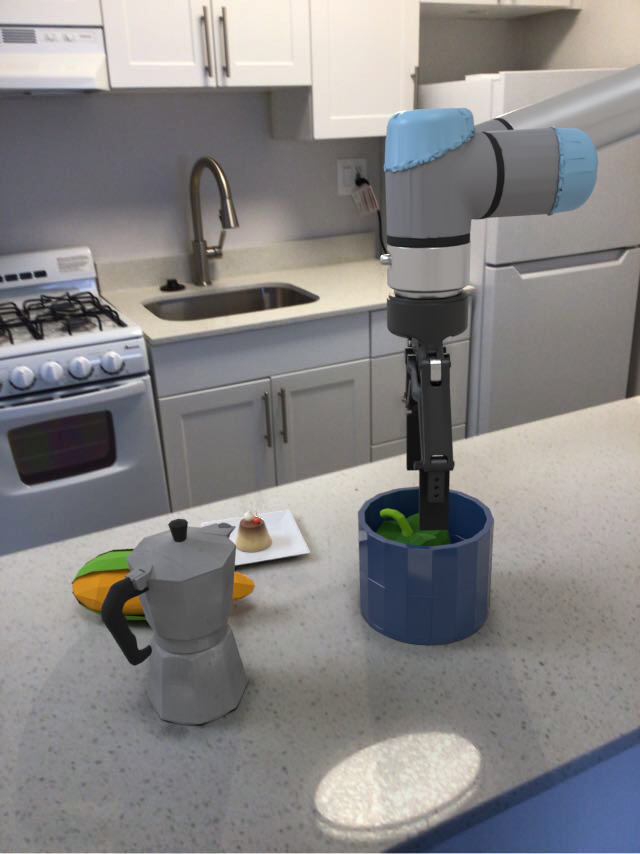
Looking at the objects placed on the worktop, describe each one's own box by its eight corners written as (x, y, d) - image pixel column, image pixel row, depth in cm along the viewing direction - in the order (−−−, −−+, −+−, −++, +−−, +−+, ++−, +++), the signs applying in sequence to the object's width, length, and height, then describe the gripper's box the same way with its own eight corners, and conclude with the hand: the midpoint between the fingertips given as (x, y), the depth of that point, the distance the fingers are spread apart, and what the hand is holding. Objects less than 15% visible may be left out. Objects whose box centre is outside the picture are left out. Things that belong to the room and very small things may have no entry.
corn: (79, 533, 84) (257, 532, 83) (91, 589, 87) (263, 589, 86) (54, 573, 77) (247, 573, 76) (68, 632, 81) (254, 633, 79)
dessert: (310, 560, 92) (309, 525, 90) (212, 577, 89) (208, 541, 87) (289, 516, 103) (287, 484, 101) (201, 530, 100) (197, 497, 98)
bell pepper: (476, 586, 81) (458, 503, 77) (417, 624, 77) (395, 539, 74) (426, 561, 88) (408, 485, 84) (370, 595, 84) (348, 517, 81)
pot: (476, 569, 88) (479, 484, 85) (500, 644, 75) (506, 548, 71) (358, 572, 89) (356, 487, 85) (362, 647, 76) (360, 551, 72)
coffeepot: (209, 637, 78) (192, 480, 72) (281, 669, 73) (269, 503, 67) (90, 729, 67) (56, 551, 60) (165, 775, 61) (137, 586, 55)
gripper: (379, 268, 82) (382, 450, 89) (396, 322, 58) (398, 561, 66) (449, 266, 81) (445, 448, 89) (494, 318, 58) (484, 559, 66)
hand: (425, 496), depth 77 cm, fingers open, 13 cm apart
